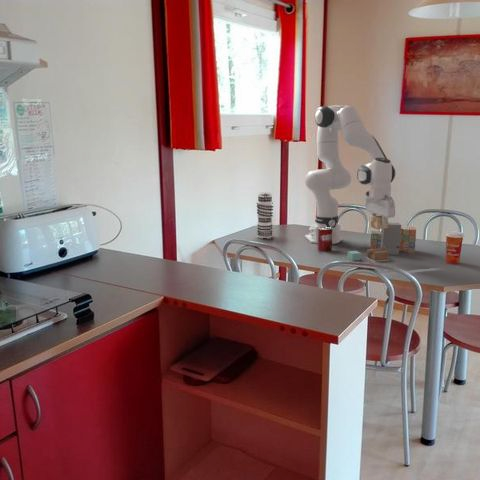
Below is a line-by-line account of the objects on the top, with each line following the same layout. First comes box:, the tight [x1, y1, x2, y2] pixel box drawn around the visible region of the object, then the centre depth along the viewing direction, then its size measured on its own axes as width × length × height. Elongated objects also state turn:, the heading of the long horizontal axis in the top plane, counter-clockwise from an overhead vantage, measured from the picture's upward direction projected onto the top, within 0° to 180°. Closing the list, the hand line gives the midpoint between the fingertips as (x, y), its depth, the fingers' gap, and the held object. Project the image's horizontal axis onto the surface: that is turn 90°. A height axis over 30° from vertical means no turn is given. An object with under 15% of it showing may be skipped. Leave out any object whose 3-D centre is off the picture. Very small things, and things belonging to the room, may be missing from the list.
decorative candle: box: [256, 191, 274, 239], centre depth 297 cm, size 9×9×25 cm
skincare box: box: [380, 221, 402, 256], centre depth 258 cm, size 8×7×16 cm
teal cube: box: [346, 250, 362, 262], centre depth 249 cm, size 4×4×4 cm
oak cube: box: [370, 215, 389, 230], centre depth 245 cm, size 6×6×5 cm
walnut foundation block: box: [366, 248, 389, 262], centre depth 248 cm, size 7×7×4 cm
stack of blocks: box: [369, 225, 417, 254], centre depth 266 cm, size 21×6×12 cm, turn 76°
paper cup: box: [445, 230, 465, 265], centre depth 244 cm, size 8×8×14 cm
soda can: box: [317, 227, 333, 253], centre depth 266 cm, size 7×7×12 cm
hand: (379, 223), depth 245 cm, fingers closed on oak cube, 5 cm apart
